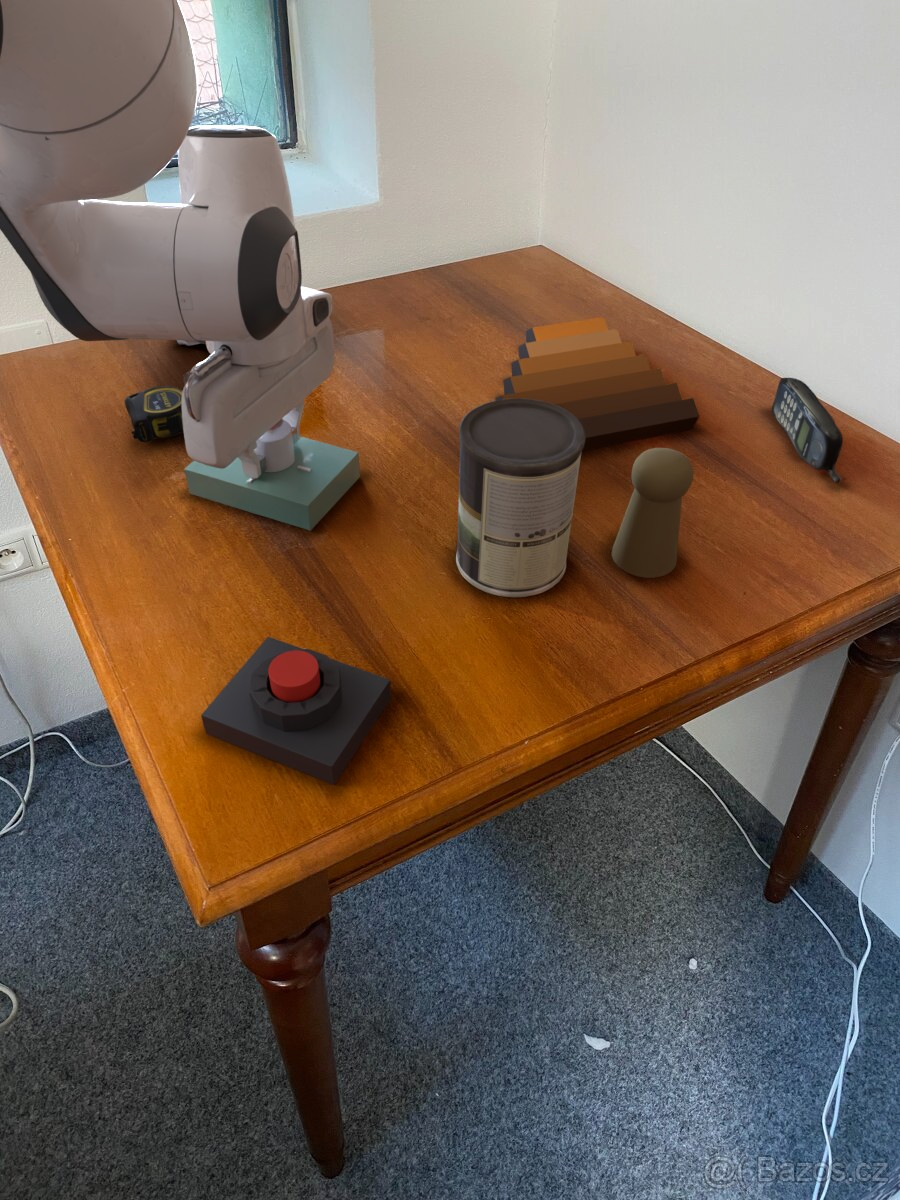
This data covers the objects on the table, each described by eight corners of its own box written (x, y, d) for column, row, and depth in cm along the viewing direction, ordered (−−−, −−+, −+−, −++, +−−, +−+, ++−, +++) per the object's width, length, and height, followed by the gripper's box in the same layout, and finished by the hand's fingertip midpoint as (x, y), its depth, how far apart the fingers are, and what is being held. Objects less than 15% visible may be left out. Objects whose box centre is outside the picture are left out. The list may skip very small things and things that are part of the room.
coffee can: (432, 565, 80) (433, 432, 71) (500, 513, 86) (509, 384, 77) (523, 615, 76) (537, 480, 66) (588, 557, 81) (609, 426, 72)
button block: (205, 734, 65) (196, 698, 63) (271, 655, 72) (265, 620, 69) (334, 785, 62) (330, 750, 60) (391, 698, 68) (390, 663, 66)
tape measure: (128, 419, 98) (120, 389, 95) (190, 408, 100) (184, 378, 97) (136, 451, 93) (128, 420, 91) (201, 439, 95) (195, 409, 92)
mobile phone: (776, 373, 98) (833, 443, 87) (801, 372, 99) (862, 442, 87) (765, 413, 102) (818, 485, 90) (790, 412, 102) (846, 484, 91)
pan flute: (488, 473, 91) (695, 432, 98) (489, 445, 89) (702, 405, 96) (413, 363, 108) (594, 335, 115) (413, 338, 106) (597, 310, 113)
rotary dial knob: (280, 476, 85) (276, 443, 82) (241, 466, 86) (236, 433, 83) (303, 453, 88) (299, 420, 85) (265, 443, 89) (260, 411, 86)
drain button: (261, 693, 64) (258, 677, 63) (287, 660, 66) (285, 644, 65) (304, 709, 63) (302, 693, 62) (329, 675, 65) (327, 659, 64)
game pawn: (683, 547, 83) (709, 448, 75) (667, 585, 79) (692, 485, 71) (622, 529, 85) (641, 431, 77) (603, 566, 81) (621, 466, 73)
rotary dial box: (189, 493, 88) (183, 467, 86) (245, 444, 94) (241, 418, 92) (310, 531, 84) (307, 504, 81) (360, 476, 90) (358, 450, 88)
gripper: (214, 385, 69) (239, 523, 79) (341, 289, 83) (350, 416, 93) (150, 368, 71) (182, 505, 81) (284, 277, 85) (298, 403, 94)
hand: (272, 457), depth 87 cm, fingers open, 5 cm apart
